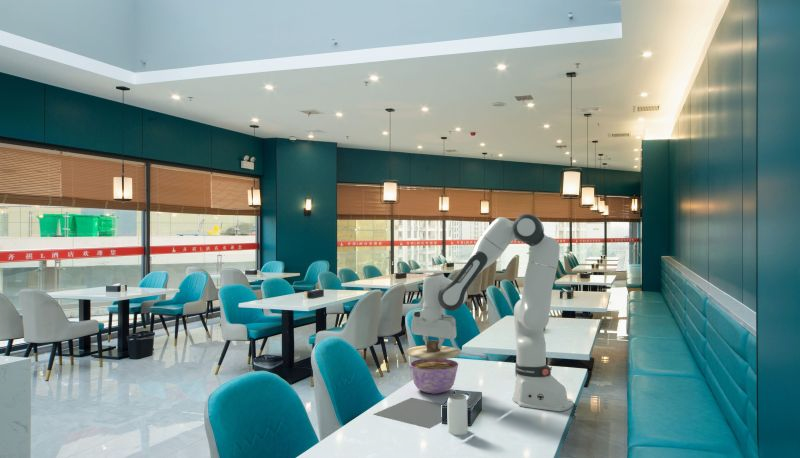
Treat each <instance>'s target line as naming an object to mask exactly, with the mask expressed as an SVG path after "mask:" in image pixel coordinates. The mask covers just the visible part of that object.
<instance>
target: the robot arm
mask: <svg viewBox="0 0 800 458" xmlns="http://www.w3.org/2000/svg"><path fill="white" fill-rule="evenodd" d="M513 241H518V242H521V243H524V244H526V245H528V247H529V248H530V253H529V258H528V261H527V266H526V270H525V274H524V278H523V284H522V285H523V286H522V296H521V298H520V299H519V300H518V301H516V303H515V305H514V308H513V319H514V332H515V333H514V334H515V341H516V343H515V344H516V345H515V346H516V361H515V369H514V371H515V373H514V374H515V386H514V393H513V395H512V400H513V401H514V402H515V403H516V404H518V406H520V407H524V408H531V409H539V410H546V411H547V410H548V411H554V412H564V411H567V410H569V409H571V408H572V407H573V406H574V401H573V399H571V398H568V395H567V390H566V387H565V385H563V384H562V383H561V382H560V381H558V380H557V379H556V378H555V377H554V376H553V375H552V373H551V372H552V368H553V366H549V365H548V364H547V359H546V358H547V355H546V354H547V350H546V349H547V347H546V346H547V343H546V340H545V339H546V337H545V333H544V332H545V331H544V329H545V328H546V327H547V326H548V324H549V321H550V309H551V304H552V292H553V287H554V282H555V280H556V279H555V278H556V274H557V270H558V269H557V268H558V267H559V266H558V265H559V260H560V248H561V246H560V244H559V242H558V241H557V240H556V239H555V238H553V237H551V236H547V235H546V234H545V228H544V225H543V223H542V221H541V220H540V219H539V218H538V217H537V216H535V215H533V214H532V213H531V214H529V213H524V214H521V215H519V216H518V217H517V218H516V219H515V221H513V220H510V219H509V218H507V217H503V216H499V217H497V218H495V219H494V220H493V221H492V222H491V223H490V224H489V225H488V226H487V227H486V229H484V231H483V232H482V234H480V236H479V237H478V239H477V241H476V243H475V244H474V246H473V248H472V251H471V253H470V255H469V257H468V259H467V262H466V263H465V265H464V266H463V267H462V268H461V270H460V271H459V273H458V274H457V275H456V276H455V277H454V279H453V280H452V279H449V278H448V277H446V276H445V275H443V273H434V274H429V275H427V276H426V277H425V278H424V279H423V282H422V299H423V303H422V308H421V309H418V310H414V311H413V312H412V313H411V315H412V319H411V323H410V325H411V326H410V331H411V333H412V335H418V336H422V340H423V341H424V343H425V344H424V346H426V347H427V341H429V339H428V338H429V337H432V338H437V339H438V341H439V343H438V344H436V346H437V348H439V349H441V348H442V346H443V343H444V342H445V339H447V340H453V339H456V337H457V326H456V325H457V322H456V321H457V320H456V318H455V317H454V316H453V315H451V314H449V315H448V314H445V310H446V311H450V312H453V311H454V312H455V311H457V310H458V309H460V308H461V307H462V305H463V304H464V302H465V301H466V300H467V298H468V289H469V288H470V286H472V284H473V283H474V281H475V279H476V278H477V277H478V276H479V274H481V273H482V272H483V271H484V270H485V269H486V268H488V267H490V266H492V264H494V263H495V262H496V261H497V260H498V259H499V258H500V257H501V256H502V255H503V254H504V252H505V251H506V249H507V248H508V246H509V245H510V244H511V243H512V242H513Z"/></svg>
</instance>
